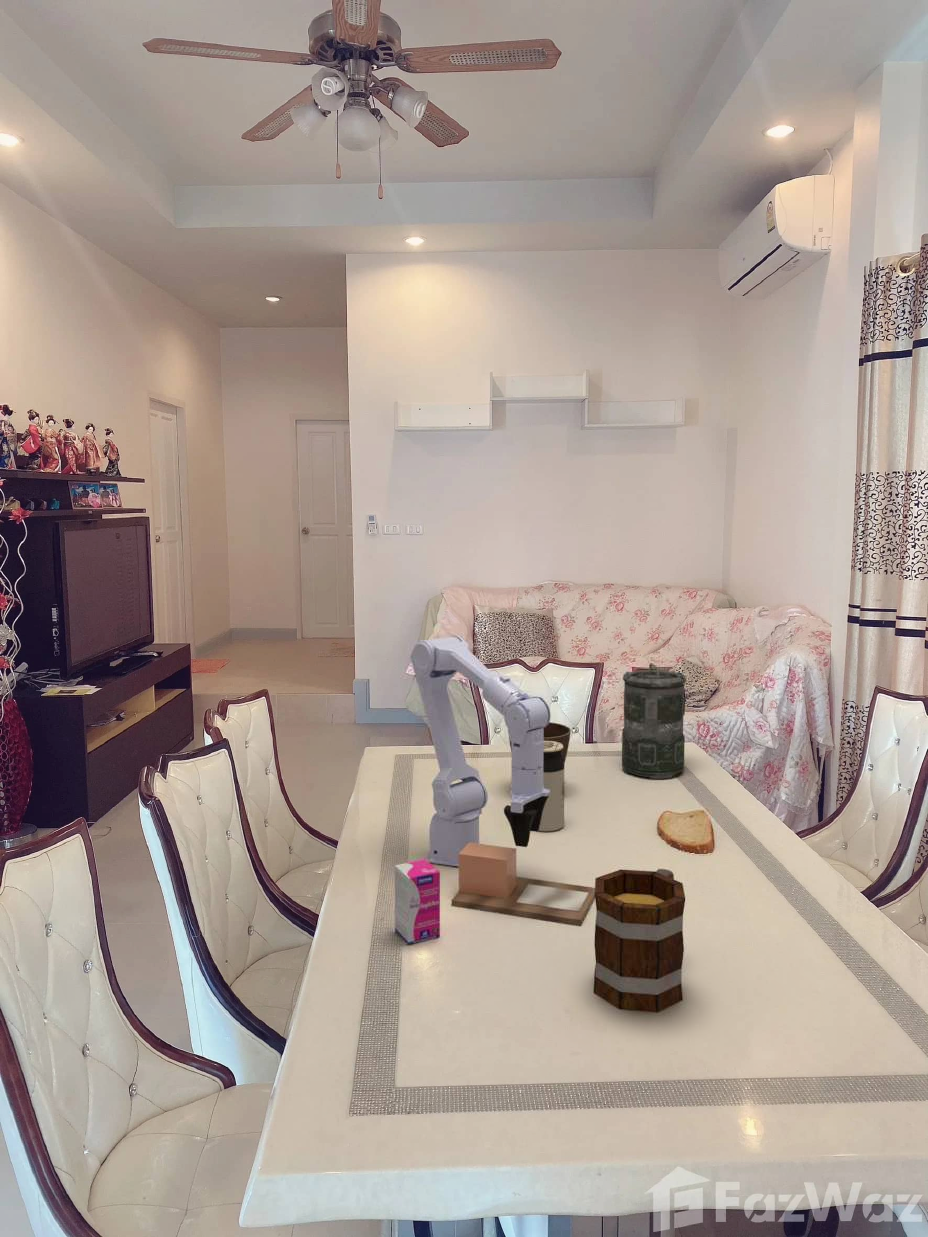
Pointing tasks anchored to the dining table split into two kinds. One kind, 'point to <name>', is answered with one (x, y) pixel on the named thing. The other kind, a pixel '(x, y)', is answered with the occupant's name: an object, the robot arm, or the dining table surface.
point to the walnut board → (536, 901)
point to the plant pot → (556, 736)
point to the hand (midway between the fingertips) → (527, 838)
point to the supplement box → (417, 901)
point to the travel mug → (553, 787)
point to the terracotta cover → (487, 870)
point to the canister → (653, 723)
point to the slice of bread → (687, 831)
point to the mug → (639, 939)
